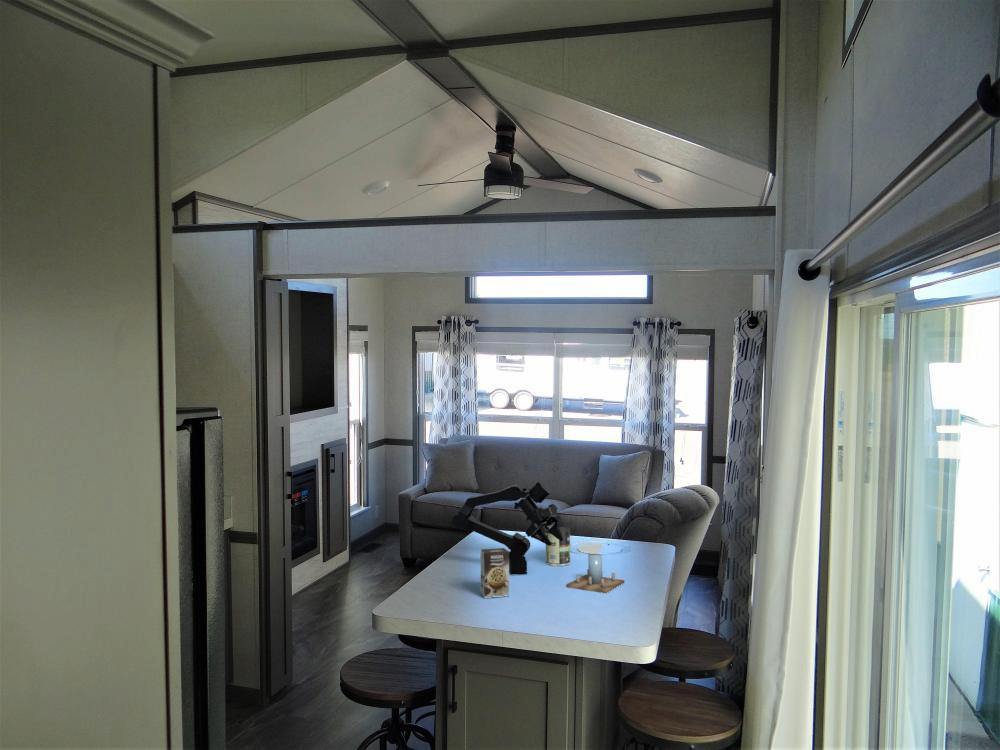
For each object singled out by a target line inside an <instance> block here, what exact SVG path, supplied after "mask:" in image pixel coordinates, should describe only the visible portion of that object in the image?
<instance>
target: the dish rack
mask: <svg viewBox="0 0 1000 750" xmlns="http://www.w3.org/2000/svg"><path fill="white" fill-rule="evenodd" d="M586 573H587V574H584V575H582V576H580V574H576V576H575V579H574V580H572V581H570V582H568V583H567V584H566V588H570V587H571V589H577V590H582V591H590V592H597V593H601V592H602V593H601V594H608V593H610V592H611V591H613V590H615V589H616V587H617V586H618V587H620V586H622V585H623V584H625V583H624V582H626V581H625V580H624V579H618V578H616V572H611V577H606V576H603V574H604V573H603V570H602V578H601V583H600V584H592V577H589V568H587V572H586ZM622 583H623V584H622ZM621 584H622V585H621ZM619 585H620V586H619ZM618 587H617V588H618ZM614 588H615V589H614ZM612 589H613V590H612ZM609 591H610V592H609ZM607 592H608V593H607Z"/></svg>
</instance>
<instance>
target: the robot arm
mask: <svg viewBox="0 0 1000 750" xmlns="http://www.w3.org/2000/svg"><path fill="white" fill-rule="evenodd" d="M551 494H552V492H551V490H550V489H549V487H548V486H546V485H544V483H542V482H541V481H539V480H538V481H537V482H536V483H535V484H534V485H533V487H532V488H527V487H523V486H522V485H521V484H519V483H517V484H516V483H515V484H513V485H510V486H508V487H506V488H503V489H501V490H498V491H494V492H493V491H492V492H489V493H484V494H480V495H475V496H473V495H472V496H470V497H468V498H467V499H466V500H465V503H464V504H463V506H462V507H461V508H460V510H459V511H458V513H457V514H454V515H453V517H452V520H451V521H452V525H453V527H454V528H455V529H459V530H462V531H463V530H464V531H469V532H474V533H476V534H479V535H481V536H484V537H485V538H488V539H490V540H493V541H495V542H497V543H500V544H502V545H503V546H505V547H506V548H508V549H509V575H511V574H518V575H527V574H528V561H527V560H526V556H525V555H526V553H527V552H528V551H529V550H530V548H531V542H530V539H528V538H529V537H530V538H532V539H535V540H537V541H539V542H541V543H543V544H545V545H546V544H547V545H549V546H551V542H550V540H549V539H548V537H547V536H546V532H545V529H547V530H548V532H549V533H550V534H552V535H553V536H554V537H556V538H557V539H558V540H560V541H563V537H562V534H561V532H560V529H559V527H560V523H561V520H562V518H561V517H560V515H557V514H558V507H557V505H556V504H554V503H551V504H548V506H547V507H546V508H542V507H539V506H538V505H537V504H541V503H543V502H544V501H545V500H546V499H547V498H548V497H550V495H551ZM517 501H518V502H517ZM497 502H514V507H513V509H514V510H517V511H518V510H521V511H522V513H523V514H524V515H525V516H526V518H525V520H526V521H529V522H530V524H529V525H528V527H526V529H525V531H524V532H525V534H526V535H522V534H521V533H519V532H515V533H514V534H513V535H512V534H508V533H507V532H504V531H502V530H500V529H497V528H494V527H493V526H491V525H488V524H486V523H483V522H481V521H478V519H476V518H475V517H474V516H473V515H472V514H473V512H474V510H475V508H476V507H479V506H484V505H488V504H492V503H497ZM527 537H528V538H527Z"/></svg>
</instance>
